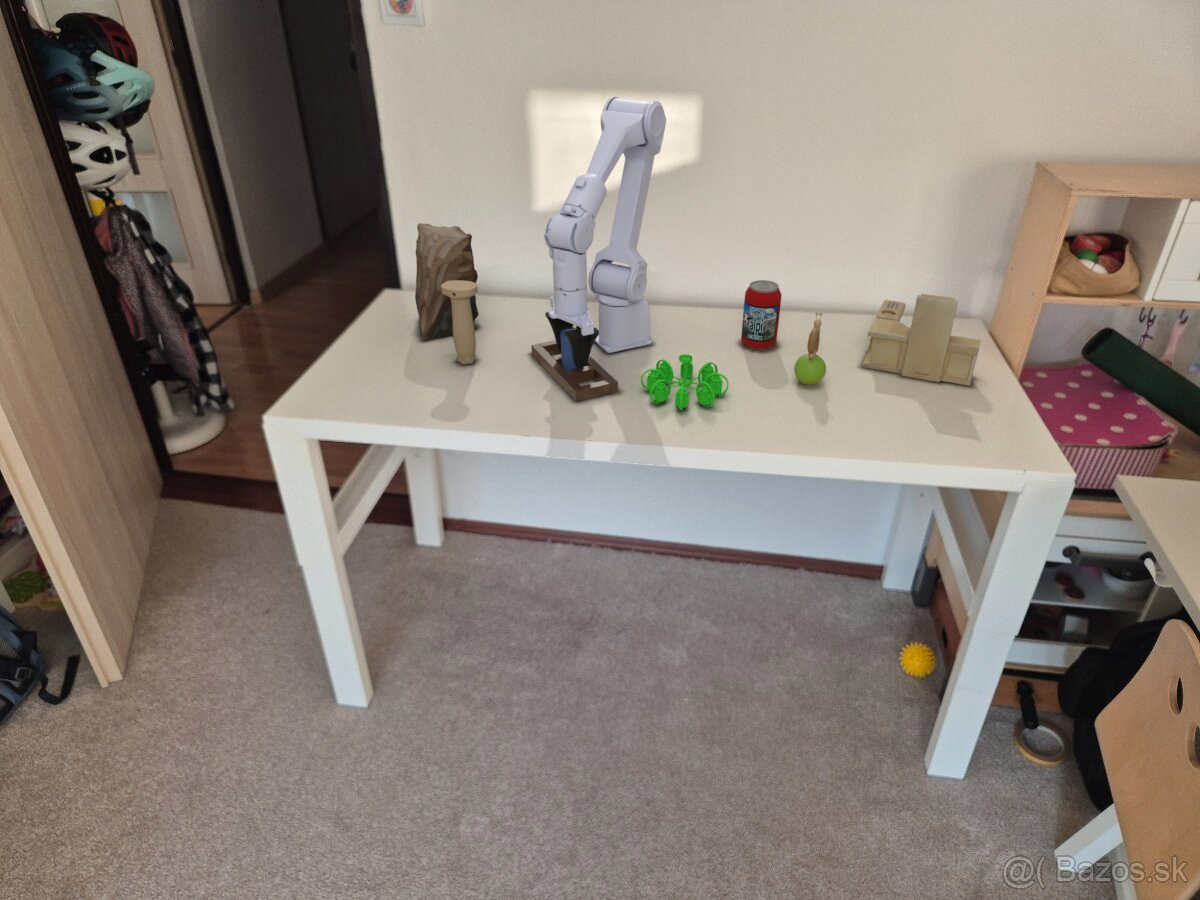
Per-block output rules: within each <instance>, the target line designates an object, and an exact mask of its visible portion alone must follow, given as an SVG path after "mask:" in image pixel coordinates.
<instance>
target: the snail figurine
mask: <svg viewBox="0 0 1200 900" xmlns="http://www.w3.org/2000/svg"><path fill="white" fill-rule="evenodd" d="M815 316H816V317H815V318H816V319H815V320H814V321H813V328H812V329H811V331H810V333H809V336H808V340H807V352H808V353H805V354H802V355H801V356H800V357H798V359H797V360H796V361H795V363H794V368H793V372H794V375H795V378H796V379H797V380H798V381H799V382H800V383H801V384H804V385H807V386H813V385H816V384H818V383H820V382H821V381H822V380H823V379H824V377H825V375H826V373H827V365H826V362H825V360H824V359H823V358H822V357H821V356H820V355H818V354H817V353H818V351H819V347H820V338H821V337H820V335H821V326H822V320H821V319H822V316H823V312H819V311H815ZM818 316H820V317H819V318H818Z"/></svg>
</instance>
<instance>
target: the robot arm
mask: <svg viewBox="0 0 1200 900" xmlns="http://www.w3.org/2000/svg"><path fill="white" fill-rule="evenodd" d="M666 125H667V116H666V113H665V110H664V107H663V105H662V103H661V102H660V101H658V100H652V101H651V100H642V99H631V98H621V97H618V96H611V97H609V98H608V99H607V101H606V102H605V104H604V106H603V108H602V113H601V114H600V129H601V135H600V137H599V139H598V142H597V145H596V146H595V149H594V152H593V155H592V158H591V160H590V162H589V165H588V168H587V170H586V173H585V174H584V173H583V174H581V175H579V176H577V177H576V178H575V181H574V182H573V184H572V187H571V189H570V191H569V193H568V194H567V197H566V199H565V201H564V202H563V205H562V208H560V211H559V213H556V214H555V215H553V216H551V217H550V218H549V219H548V221H547V223H546V225H545V231H544V234H543V239H544V242H545V245H546V247H547V248H548V255H549V257H550V259H551V260H552V274H553V275H552V276H553V277H552V279H553V295H552V296H550V297H549V300H550V301H549V302H550V303H549V304H550V308H552V310H549V311H547V312H545V314H544V315H545V317H546V319H547V321H548V322H549V324H550V327H551V329H552V332H553V336H554V339H555V340H556V343H557V347H558V349H559V350H560V351H561V331H562V330H563V329H566V328H574V326H575V328H576V329H574V330H569V331H565V334H566V335H567V337H568V339H569V342H570V344H571V348H572V353H573V360H574V364H575V366H576V367H582V366H587V364H588V360H589V356H591V351H592V349H593V345H594V343H596V344H597V345H598V346H599V347H600V348H601V349H602V350H604V351H605V352H606V353H607V354H611V353H617V352H620V351H625V350H629V349H634V348H640V347H644V346H649V345H651V344H652V341H651V340H650V331H651V328H650V327H651V310H650V309H651V308H650V304H649V302H648V300H647V298H646V297H645V296H644V294H645V292H646V290H647V284H648V278H647V273H648V272H647V271H648V263H647V261H646V260H645V258H644V257H643V256H642V255H641V254H640V253H639V251H638V250H637V249H638V244H639V240H640V239H639V238H640V234H641V229H642V224H643V218H644V213H645V208H646V204H647V197H648V192H649V187H650V183H651V182H650V181H651V177H652V172H653V167H654V163H655V162H654V161H655V158H656V155H658V154H660V153H661V149H662V145H663V141H664V136H665V131H666ZM622 155H623V156H624V164H623V169H622V174H621V179H620V185H619V191H618V195H617V202H616V207H615V211H614V216H613V217H614V218H613V222H612V228H611V233H610V238H609V242H608V245H607V246H606V247H604V248H603V249H601V250H599V251H598V252H597V253H596V254H595V257H594V262H593V265H592V267H591V268H590V271H589V274H588V266H587V265H588V264H587V262H588V261H587V251H588V250H589V249H590V248H591V246H592V244H593V242H594V241H593V240H594V234H595V228H596V224H597V223H596V221H595V220H596V217H597V215H598V213H599V212H600V209H601V207H602V205H603V203H604V201H605V199H606V197H607V195H608V190H607V187H606V182H607V180H608V179H609V177H610V175H611V174H612V172H613V170H614V169H615V167H616V165H617V164H618V162H619V160H620V158H621V157H622ZM614 262H617V263H622V264H626V265H627V266H626V265H622V264H616V263H614ZM588 286H589V289H590V291H591V293H593V294H594V298H595V300H597V301H598V328H597V327H595V326H594V325H595V324H594V322H593V321H592V319H591V315H590V310H589V307H588Z"/></svg>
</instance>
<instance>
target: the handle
mask: <svg viewBox="0 0 1200 900" xmlns="http://www.w3.org/2000/svg"><path fill="white" fill-rule="evenodd" d="M441 290H442V293H443V294H444V295H446V296H448V297H450V298H451V303H452V318H453V344H454V349H455V352H456V357H457V361H458V363H461V364H462V365H463V366H464V365H465V366H466V365H469V364H470V365H472V364H473V363H475V361H476V358H477V355H476V349H477V347H476V346H477V345H476V344H477V342H476V341H477V339H476V330H475V329H474V324H475V323H474V324H473V318H472V311H471V304H470V297H472V296H473V295H475V296H476V294H477V293H478V291H479V290H478V284H477V282H476V283H474V282H470V281H463V280H454V281H447V282H445V283H443V284H442V285H441Z"/></svg>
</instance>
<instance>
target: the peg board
mask: <svg viewBox="0 0 1200 900" xmlns="http://www.w3.org/2000/svg"><path fill="white" fill-rule="evenodd" d="M530 346H531V355H532V357H533V358H534V359H535V360H536V361H537V362H538V363H539V364H540V365H541V366H542V367H543V368H544V369H545V370H546V371H547V372H548V374H549V375H551V377H552V378H553V379H554V380H555V381H556V382H557V383H558V384H559V385H560V387H562V389H563V390H564V391H565V392H566V393H567V394H568V395H569V396H570V397H571V398H572V399H573V400H574V401H575V403H576V402H577V403H578V402H581V401H585V400H589V399H595V398H598V397H602V396H606V395H611V394H615V393H618V392H619V381H618V380H616V379H615V377H613V376H612V375H611V374H610V373H609V372H608V371H607V370H606V369H605V368H604V367H603V366H602V365H600V363H598V362H597V361H596V360H595V359H594V358H593V357H592V356H591V355H590V356H589V360H588V364H587V366H584V367H581V368H576V369H571V370H567V371H566V370H565V369H564V368H563V367H562V357H561V354H559V353H561V351H560V350H559V349H558V347H557V343H556V340H549V341H544V342H539V343H534V344H531V345H530ZM555 354H558V355H555ZM552 355H553V356H552ZM590 380H595V381H596V382H592V383H586V384H582V385H581V384H580V383H581V382H586V381H590Z"/></svg>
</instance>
